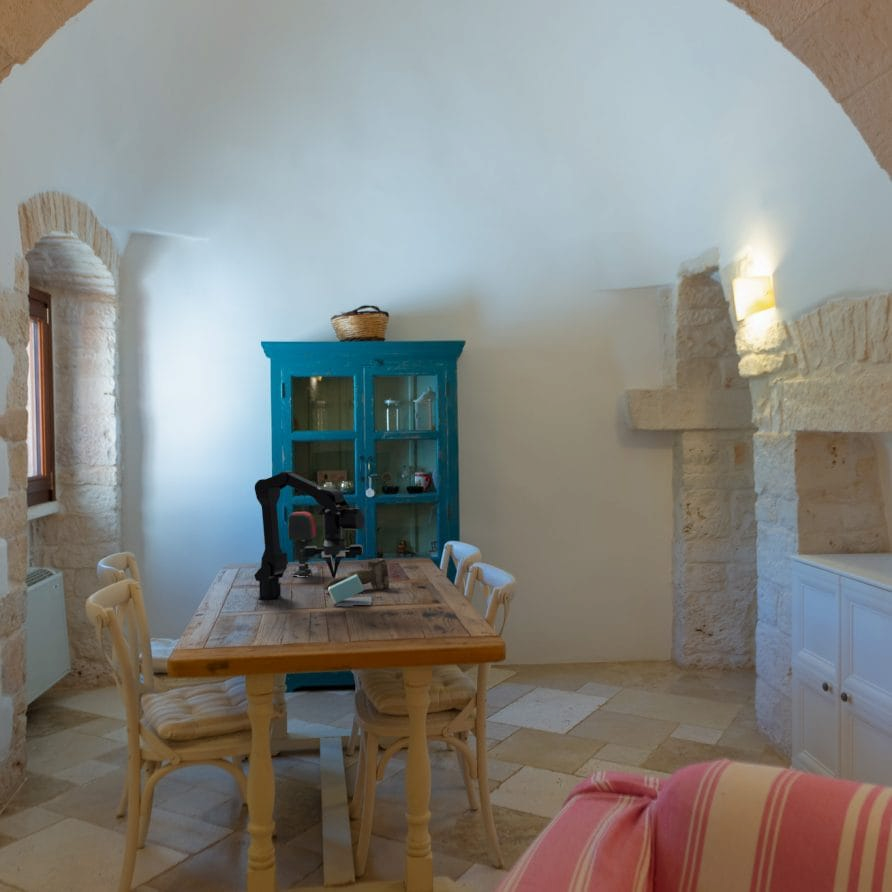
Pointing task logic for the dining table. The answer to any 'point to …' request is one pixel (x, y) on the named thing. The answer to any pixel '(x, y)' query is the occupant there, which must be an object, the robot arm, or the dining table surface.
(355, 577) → the teal block
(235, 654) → the dining table surface
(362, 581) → the sculpture
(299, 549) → the toy robot
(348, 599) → the felt mat
